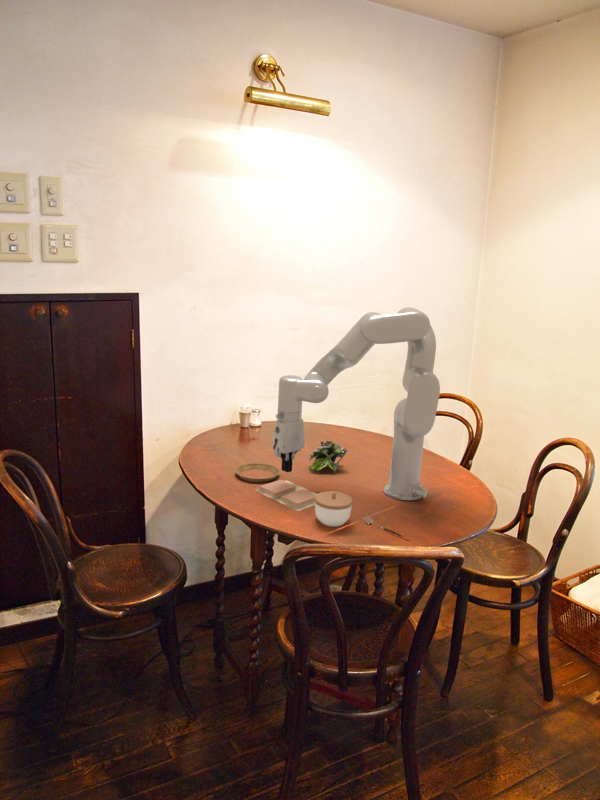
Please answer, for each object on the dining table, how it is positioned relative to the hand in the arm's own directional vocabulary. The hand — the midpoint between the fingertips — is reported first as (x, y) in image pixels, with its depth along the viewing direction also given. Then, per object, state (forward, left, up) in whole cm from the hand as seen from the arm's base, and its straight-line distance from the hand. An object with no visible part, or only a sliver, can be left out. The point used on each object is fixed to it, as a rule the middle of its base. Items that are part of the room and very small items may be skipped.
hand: (286, 470), depth 198 cm
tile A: (-10, -1, -5) cm, 11 cm away
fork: (-39, -3, -7) cm, 39 cm away
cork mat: (-5, +2, -7) cm, 9 cm away
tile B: (0, -1, -5) cm, 5 cm away
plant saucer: (+14, 0, -7) cm, 16 cm away
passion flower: (+4, -24, -7) cm, 25 cm away
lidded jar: (-26, +6, -7) cm, 28 cm away
